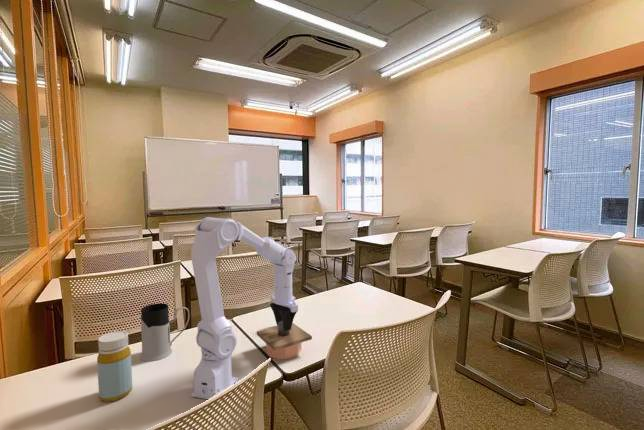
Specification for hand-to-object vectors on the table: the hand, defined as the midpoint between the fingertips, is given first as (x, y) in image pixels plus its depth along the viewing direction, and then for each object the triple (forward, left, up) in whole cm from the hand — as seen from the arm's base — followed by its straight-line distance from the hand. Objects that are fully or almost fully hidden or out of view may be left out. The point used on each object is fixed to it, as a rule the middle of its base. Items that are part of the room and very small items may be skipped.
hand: (283, 327), depth 101 cm
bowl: (0, 0, -8) cm, 8 cm away
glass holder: (-10, +36, -8) cm, 38 cm away
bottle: (-31, +33, -8) cm, 46 cm away
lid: (0, 0, -3) cm, 3 cm away
